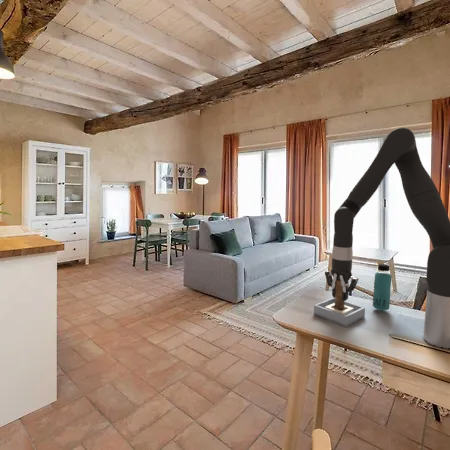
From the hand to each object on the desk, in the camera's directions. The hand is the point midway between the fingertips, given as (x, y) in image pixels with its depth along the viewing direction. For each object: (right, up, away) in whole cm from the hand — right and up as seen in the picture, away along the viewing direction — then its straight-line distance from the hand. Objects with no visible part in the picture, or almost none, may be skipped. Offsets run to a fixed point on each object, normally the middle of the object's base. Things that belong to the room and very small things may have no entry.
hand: (339, 298), depth 119 cm
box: (0, -7, +1) cm, 7 cm away
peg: (0, -4, +1) cm, 4 cm away
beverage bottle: (+20, -7, +6) cm, 21 cm away
